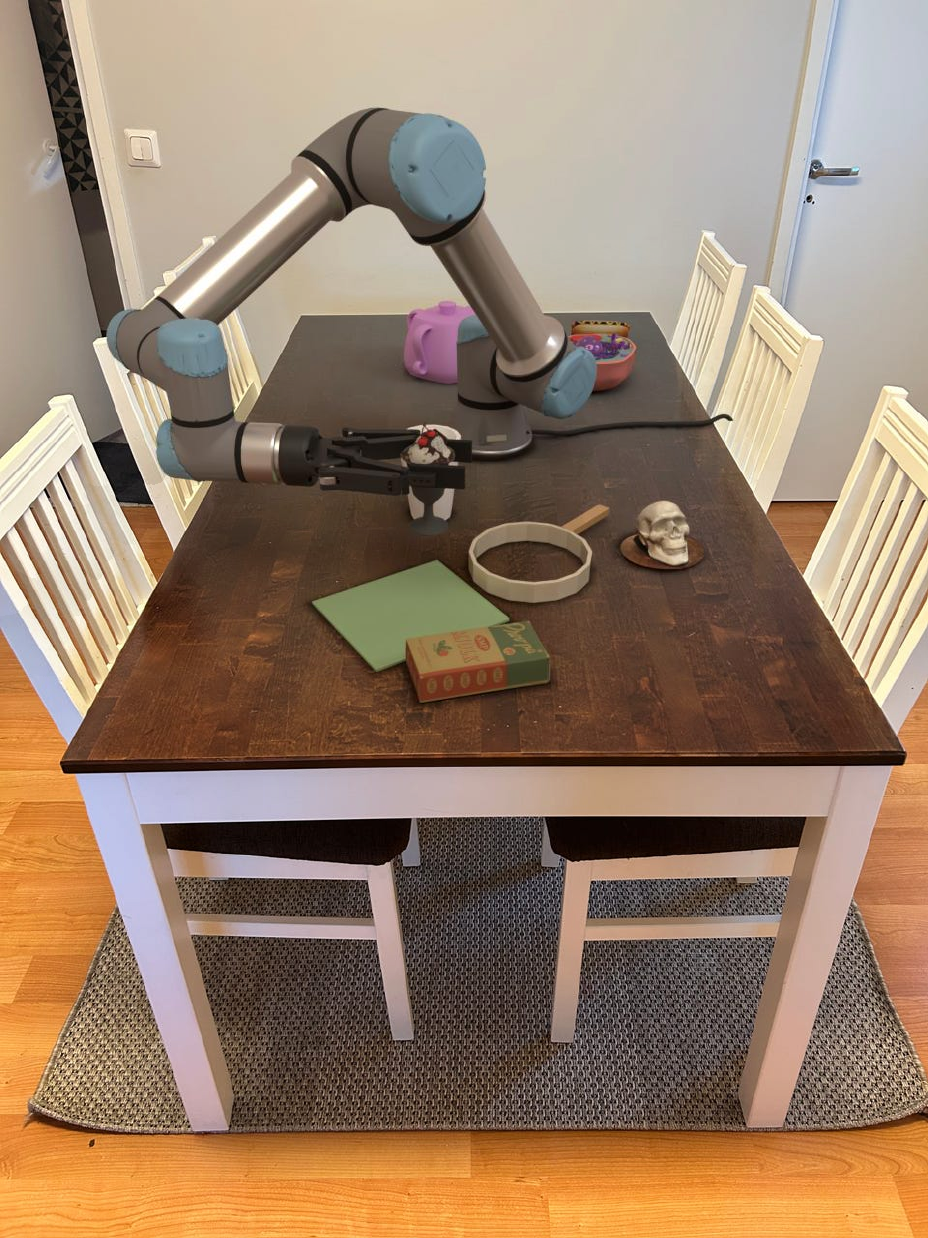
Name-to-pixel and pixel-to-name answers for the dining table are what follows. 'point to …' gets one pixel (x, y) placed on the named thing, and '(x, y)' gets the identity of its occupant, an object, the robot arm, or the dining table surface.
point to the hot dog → (600, 327)
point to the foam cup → (445, 502)
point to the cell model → (608, 357)
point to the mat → (405, 611)
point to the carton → (476, 661)
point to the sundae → (426, 451)
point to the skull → (662, 539)
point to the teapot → (434, 341)
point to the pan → (538, 533)
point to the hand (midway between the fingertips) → (468, 464)
